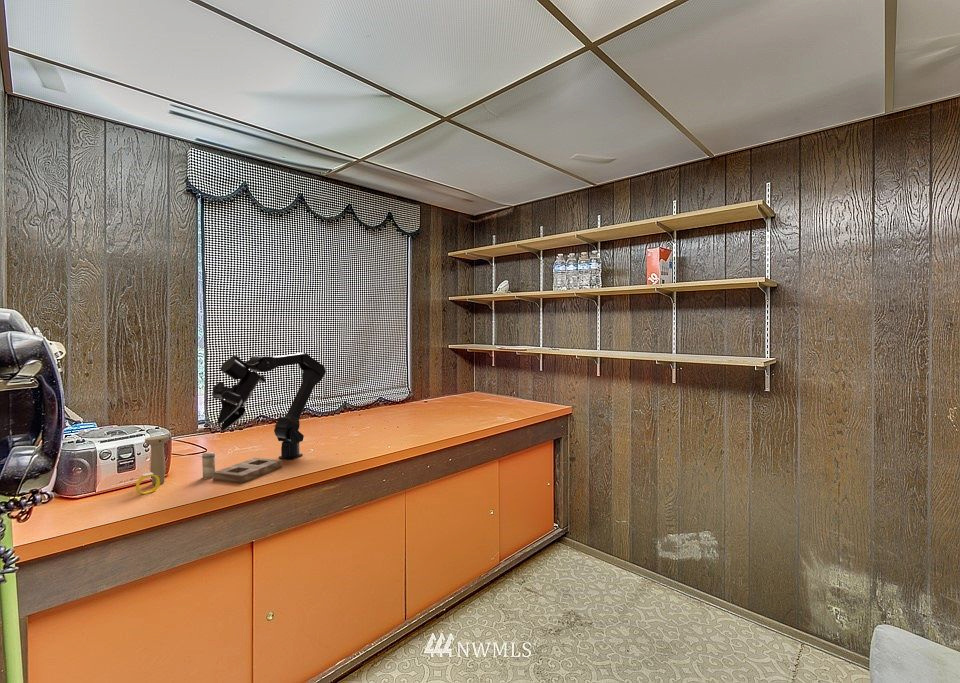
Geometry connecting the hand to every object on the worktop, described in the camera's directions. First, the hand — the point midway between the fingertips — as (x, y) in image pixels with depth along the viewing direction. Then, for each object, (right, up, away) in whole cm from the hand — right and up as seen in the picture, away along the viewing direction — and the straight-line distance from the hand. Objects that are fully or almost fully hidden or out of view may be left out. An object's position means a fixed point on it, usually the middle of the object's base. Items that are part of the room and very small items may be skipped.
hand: (220, 427), depth 153 cm
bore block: (+7, -17, +5) cm, 19 cm away
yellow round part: (-14, -18, -14) cm, 27 cm away
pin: (-4, -17, +1) cm, 18 cm away
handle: (-17, -17, -6) cm, 25 cm away
